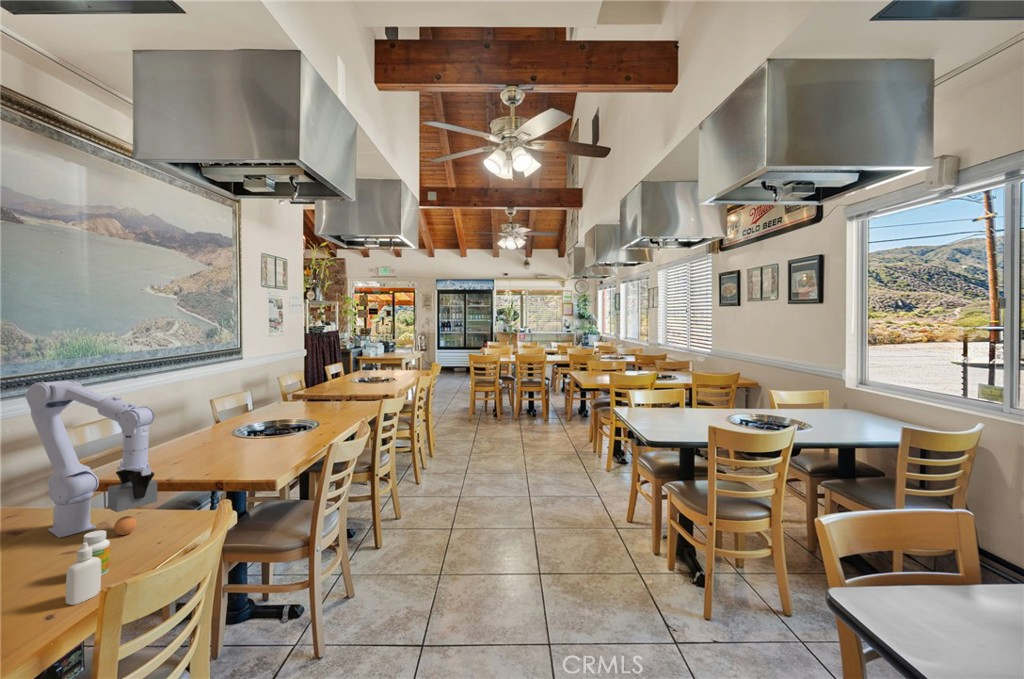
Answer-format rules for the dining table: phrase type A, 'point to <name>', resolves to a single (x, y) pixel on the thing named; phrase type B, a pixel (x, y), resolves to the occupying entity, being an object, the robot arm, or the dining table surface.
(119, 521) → the brown egg
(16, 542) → the dining table surface
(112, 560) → the dining table surface
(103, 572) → the supplement bottle
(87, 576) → the eye dropper bottle
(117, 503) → the gray block
